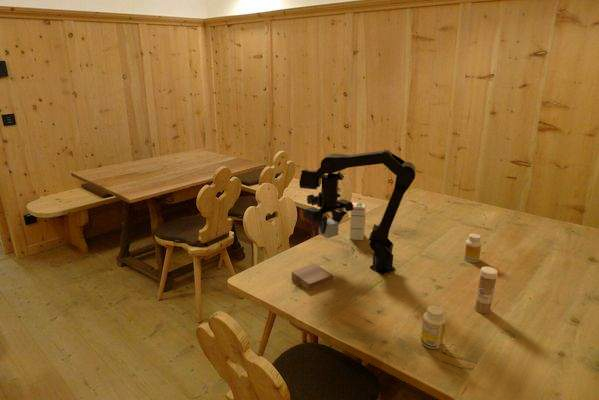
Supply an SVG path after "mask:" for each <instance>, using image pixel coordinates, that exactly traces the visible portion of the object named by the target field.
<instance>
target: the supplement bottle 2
mask: <svg viewBox="0 0 599 400" xmlns="http://www.w3.org/2000/svg"><path fill="white" fill-rule="evenodd" d="M481 249H482V242H481V235H480V234H477V233H469V234H468V239H466V241H465V245H464V252H463V259H464V261H467V262H469V263H478V262H479V260H480V256H481Z"/></svg>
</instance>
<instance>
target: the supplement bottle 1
mask: <svg viewBox="0 0 599 400" xmlns="http://www.w3.org/2000/svg"><path fill="white" fill-rule="evenodd" d="M422 316H423V317H422V323H421V334H420V341H421V344H422V345H423V346H425V347H426V348H427V349H428V348H429V349H433V350H436V349H441V347H442V346H443V343H444V337H445V329H446V322H447V320H446V316H445V315H444V309H443V308H442V307H440V306H438V305H429V306H428V307H427V309H426V312H425V313H424V314H423V315H422Z"/></svg>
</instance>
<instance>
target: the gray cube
mask: <svg viewBox="0 0 599 400" xmlns="http://www.w3.org/2000/svg"><path fill="white" fill-rule="evenodd" d="M327 218H328V219H327V224H326V229H325V233H324V234H322V233H321V230H320V228H319V227H318V235H321V236H322V237H324V238H326V239H330V238H334V237H336V236H338V235H339V224H340V223H339V222H337V221H335V220H333V219H332V218H331V217H327Z"/></svg>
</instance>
